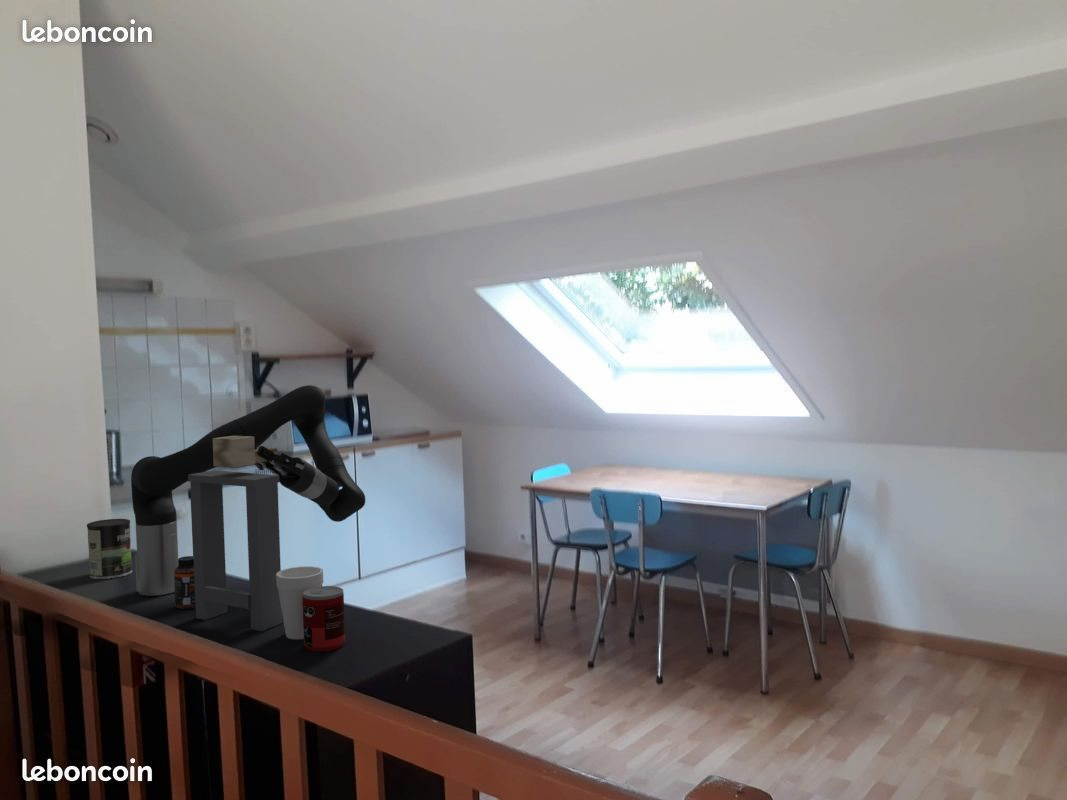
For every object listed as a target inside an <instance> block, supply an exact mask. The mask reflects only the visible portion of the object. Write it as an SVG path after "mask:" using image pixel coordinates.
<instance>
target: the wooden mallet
mask: <svg viewBox="0 0 1067 800" xmlns="http://www.w3.org/2000/svg"><path fill="white" fill-rule="evenodd" d="M266 448H267V449H269V450H271V451H272V452H277V453H278V448H276V447H275V448H274V447H266ZM258 449H259V448H257V449H256V450H255V443H254V437H251V436H228V437H219V438H213V462H214V466H218V467H222V468H239V467H245V466H252V465H254V464H255V463H258V462H264V461H267V460H265V459H264V458H262V457H260V456H258V455H257V452H258Z"/></svg>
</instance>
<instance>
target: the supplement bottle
mask: <svg viewBox="0 0 1067 800" xmlns="http://www.w3.org/2000/svg"><path fill="white" fill-rule="evenodd" d="M178 564H179V565H178V567H177V568H176V569H175V570H174V585H175V592H174V604H175V607H176V608H177V609H180V610H188V609H196V606H195V581H194V557H193V555H187V556H186V555H185V556H180V557H178Z"/></svg>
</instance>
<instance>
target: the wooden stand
mask: <svg viewBox="0 0 1067 800" xmlns="http://www.w3.org/2000/svg"><path fill="white" fill-rule="evenodd" d="M187 482H189V483H190V501H191V502H190V503H191V504H190V505H191V507H190V508H191V529H192V530H191V531H192V549H193V550H192V552H193V554H192V556H193V557H194V581H195V606H196V607H195V619H198V620H204V621H207V620H209V619H212V618H216V617H218V616H221V615H223V614H226V613H228V606H230V607H237V608H242V609H248V610H249V611H250V630H254V631H258V632H264V631H265V630H268V629H272V628H274V627H276V626H279V625H281V624H284V621H283V615H282V610H281V604H280V598H279V592H278V587H277V583H276V574H277V572H279V571H281V570H282V569H281V566H282V565H281V543H280V518H279V515H280V514H279V510H280V507H279V483H280V482H279V475H275V474H265V473H254V472H253V473H251V472H242V471H241V472H240V471H226V470H208V471H206V472H201V473H195V474H189V475H188V481H187ZM224 485H225V486H233V487H234V486H235V487H236V486H237V487H245V497H246V499H245V501H246V529H247V530H246V531H247V554H248V555H247V556H248V559H247V560H248V581H249V582H248V583H249V585H248V586H249V592H247V591H246V592H245V591H240V590H234V589H229V588H227V572H226V571H227V570H226V548H225V547H226V546H225V545H226V544H225V523H224V522H225V519H224V497H223V496H224V495H223V494H224V493H223V486H224Z"/></svg>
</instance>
